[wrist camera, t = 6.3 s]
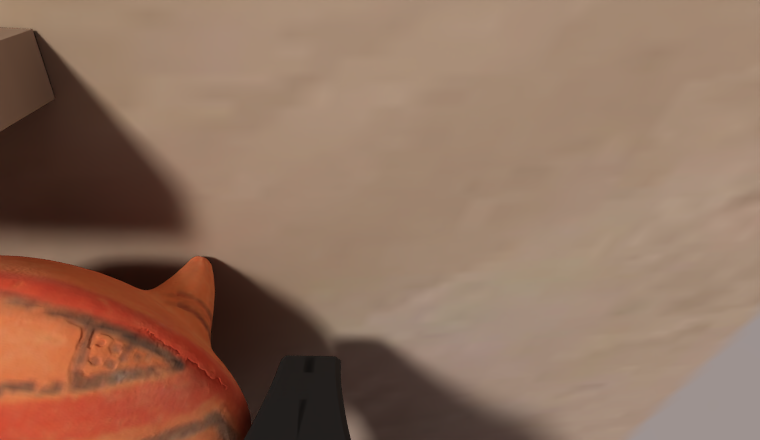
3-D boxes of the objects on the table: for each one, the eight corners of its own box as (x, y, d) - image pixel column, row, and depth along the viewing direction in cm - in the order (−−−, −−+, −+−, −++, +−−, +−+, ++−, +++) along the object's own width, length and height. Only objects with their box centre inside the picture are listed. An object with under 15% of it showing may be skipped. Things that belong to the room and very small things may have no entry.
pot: (35, 52, 8) (-330, 507, 3) (317, 277, 13) (348, 579, 8) (-218, 269, 10) (-677, 749, 5) (112, 390, 15) (40, 686, 10)
